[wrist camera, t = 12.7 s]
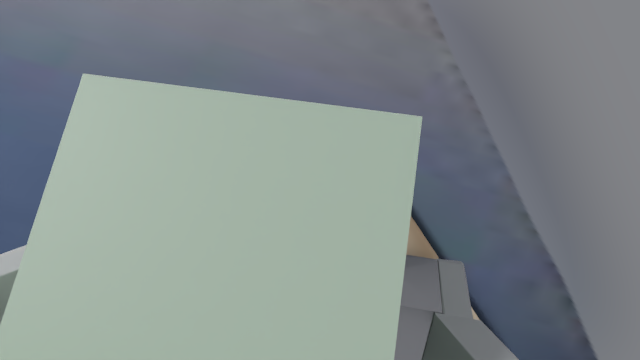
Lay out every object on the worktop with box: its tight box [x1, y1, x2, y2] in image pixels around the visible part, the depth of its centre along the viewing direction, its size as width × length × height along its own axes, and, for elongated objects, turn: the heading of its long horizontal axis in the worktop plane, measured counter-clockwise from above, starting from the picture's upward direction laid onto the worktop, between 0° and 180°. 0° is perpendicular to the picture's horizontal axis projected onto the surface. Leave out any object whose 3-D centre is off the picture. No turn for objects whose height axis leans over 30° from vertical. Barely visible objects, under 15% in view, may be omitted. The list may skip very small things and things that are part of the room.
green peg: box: [0, 74, 422, 360], centre depth 12 cm, size 5×5×12 cm
